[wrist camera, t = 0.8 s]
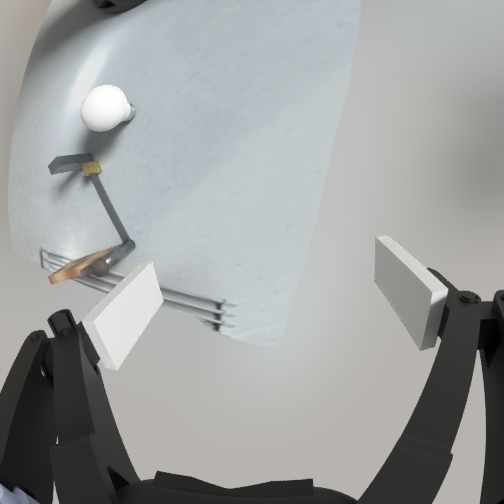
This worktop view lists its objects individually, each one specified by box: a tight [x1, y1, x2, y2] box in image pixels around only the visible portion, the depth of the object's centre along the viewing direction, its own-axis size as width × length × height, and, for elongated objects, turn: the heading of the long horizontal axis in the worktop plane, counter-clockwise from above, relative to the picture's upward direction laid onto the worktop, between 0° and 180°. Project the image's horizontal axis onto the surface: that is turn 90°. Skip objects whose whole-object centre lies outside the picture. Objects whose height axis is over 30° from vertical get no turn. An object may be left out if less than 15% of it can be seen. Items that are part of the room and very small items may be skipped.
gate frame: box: [48, 153, 135, 269], centre depth 37 cm, size 19×3×9 cm, turn 26°
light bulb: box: [81, 85, 136, 132], centre depth 31 cm, size 7×7×11 cm
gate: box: [48, 245, 119, 284], centre depth 40 cm, size 17×2×10 cm, turn 106°
